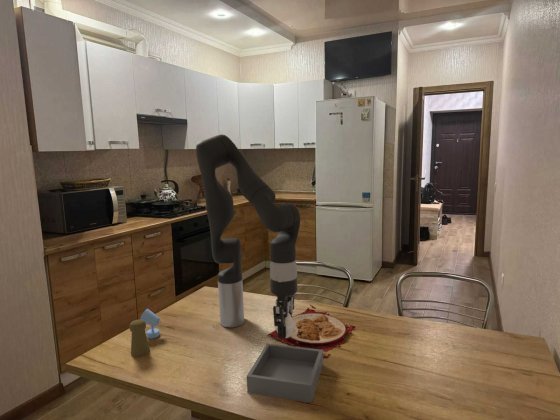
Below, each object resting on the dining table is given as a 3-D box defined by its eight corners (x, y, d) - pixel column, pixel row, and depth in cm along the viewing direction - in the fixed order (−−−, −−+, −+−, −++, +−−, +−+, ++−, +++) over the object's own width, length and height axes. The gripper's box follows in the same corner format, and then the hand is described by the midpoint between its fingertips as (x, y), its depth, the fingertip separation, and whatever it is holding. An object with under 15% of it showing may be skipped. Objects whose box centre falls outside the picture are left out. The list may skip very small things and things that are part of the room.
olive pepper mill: (143, 357, 125) (140, 325, 123) (127, 355, 126) (123, 324, 124) (153, 347, 130) (150, 317, 129) (137, 346, 132) (134, 316, 130)
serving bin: (267, 357, 122) (266, 343, 121) (323, 365, 117) (322, 349, 116) (247, 392, 105) (246, 376, 104) (311, 402, 100) (311, 385, 99)
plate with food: (266, 339, 136) (266, 329, 135) (308, 311, 156) (308, 302, 155) (325, 362, 121) (325, 352, 120) (363, 327, 141) (363, 318, 140)
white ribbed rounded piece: (297, 339, 106) (297, 315, 105) (276, 341, 105) (275, 318, 104) (293, 329, 112) (293, 306, 111) (273, 331, 111) (272, 308, 110)
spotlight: (139, 337, 138) (157, 339, 136) (137, 311, 136) (154, 313, 135) (147, 331, 142) (164, 332, 141) (144, 306, 141) (161, 307, 139)
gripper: (278, 266, 114) (279, 319, 116) (262, 283, 100) (264, 342, 103) (302, 268, 112) (303, 322, 114) (290, 285, 98) (291, 346, 101)
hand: (285, 331), depth 109 cm, fingers closed on white ribbed rounded piece, 6 cm apart
